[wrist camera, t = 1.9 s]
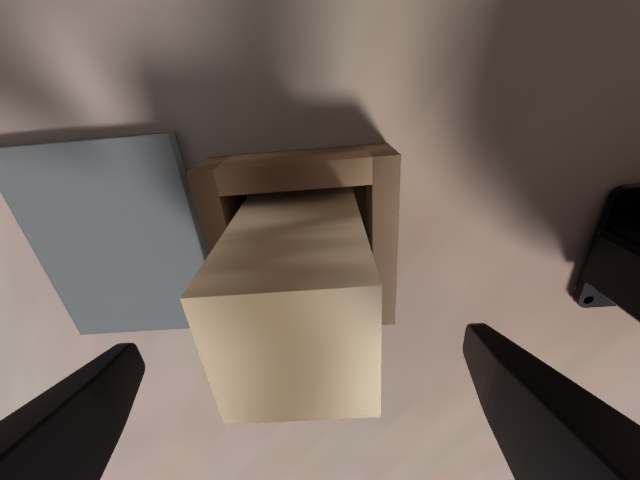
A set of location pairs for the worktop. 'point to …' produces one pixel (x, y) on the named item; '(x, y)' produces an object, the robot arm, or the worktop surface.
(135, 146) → the slate mat
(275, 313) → the birch block
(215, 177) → the walnut pocket
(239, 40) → the worktop surface
